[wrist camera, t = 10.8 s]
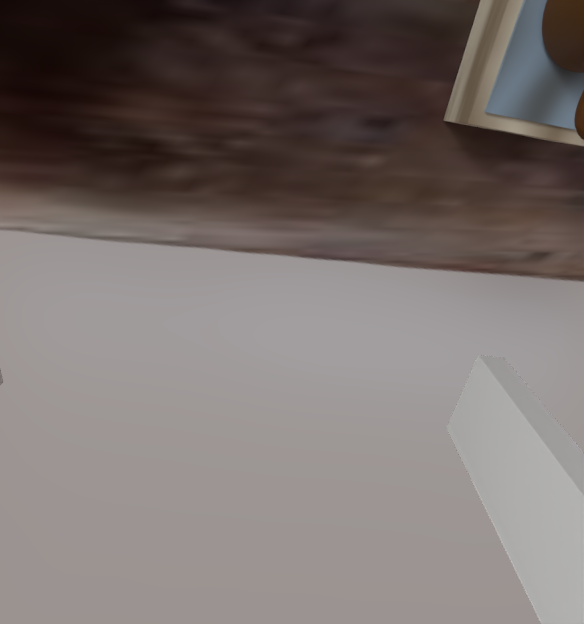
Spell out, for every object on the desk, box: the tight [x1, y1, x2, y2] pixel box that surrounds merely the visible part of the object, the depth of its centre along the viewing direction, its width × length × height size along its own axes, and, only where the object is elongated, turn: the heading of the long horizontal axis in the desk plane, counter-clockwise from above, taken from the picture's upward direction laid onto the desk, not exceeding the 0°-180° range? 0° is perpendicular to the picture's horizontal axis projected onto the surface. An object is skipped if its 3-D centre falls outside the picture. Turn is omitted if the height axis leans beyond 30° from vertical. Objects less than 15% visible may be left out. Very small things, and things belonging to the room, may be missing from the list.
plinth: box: [443, 0, 584, 147], centre depth 32 cm, size 12×12×6 cm
